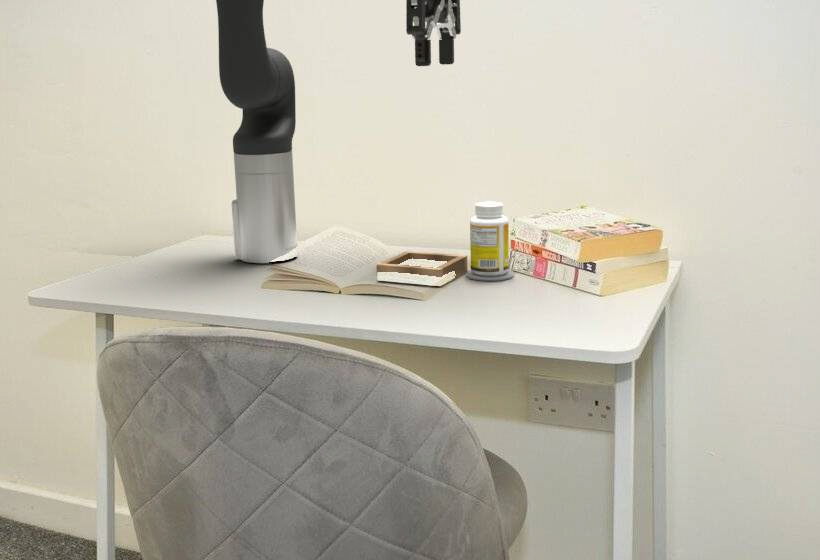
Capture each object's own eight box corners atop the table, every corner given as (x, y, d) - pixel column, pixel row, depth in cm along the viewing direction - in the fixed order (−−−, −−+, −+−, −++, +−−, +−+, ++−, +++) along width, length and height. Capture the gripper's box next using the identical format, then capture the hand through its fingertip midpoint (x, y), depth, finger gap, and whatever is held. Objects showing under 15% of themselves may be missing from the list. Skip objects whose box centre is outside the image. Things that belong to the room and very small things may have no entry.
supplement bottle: (495, 267, 143) (495, 199, 141) (516, 274, 139) (516, 204, 136) (463, 271, 141) (462, 203, 139) (483, 279, 136) (483, 208, 134)
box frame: (377, 281, 138) (376, 264, 137) (407, 266, 147) (406, 251, 146) (440, 287, 134) (440, 269, 133) (467, 272, 142) (467, 255, 142)
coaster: (458, 278, 138) (458, 276, 138) (476, 268, 144) (476, 266, 144) (504, 282, 135) (504, 280, 135) (520, 272, 141) (520, 269, 141)
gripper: (430, -44, 147) (432, 64, 151) (388, -52, 134) (391, 66, 138) (475, -47, 144) (476, 63, 147) (436, -55, 131) (438, 66, 135)
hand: (435, 65), depth 143 cm, fingers open, 8 cm apart
